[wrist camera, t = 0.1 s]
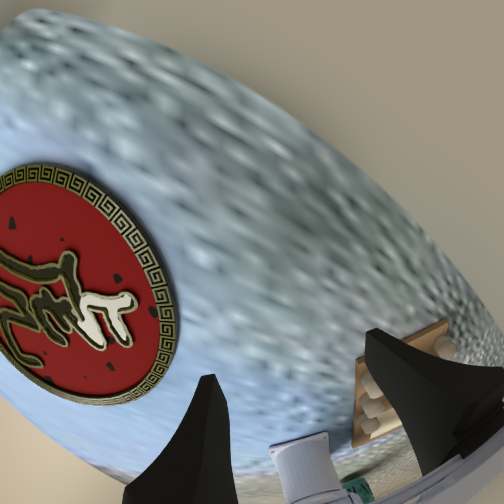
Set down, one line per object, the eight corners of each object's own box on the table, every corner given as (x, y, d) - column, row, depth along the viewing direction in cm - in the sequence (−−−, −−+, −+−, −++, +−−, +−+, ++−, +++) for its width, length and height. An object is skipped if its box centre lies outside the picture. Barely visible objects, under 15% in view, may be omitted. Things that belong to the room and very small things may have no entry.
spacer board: (419, 412, 33) (429, 426, 29) (351, 445, 32) (358, 461, 29) (445, 318, 26) (462, 332, 23) (355, 359, 25) (369, 380, 22)
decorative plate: (-50, 191, 13) (160, 140, 16) (-43, 189, 14) (163, 141, 17) (14, 388, 21) (194, 413, 24) (17, 382, 22) (195, 405, 25)
